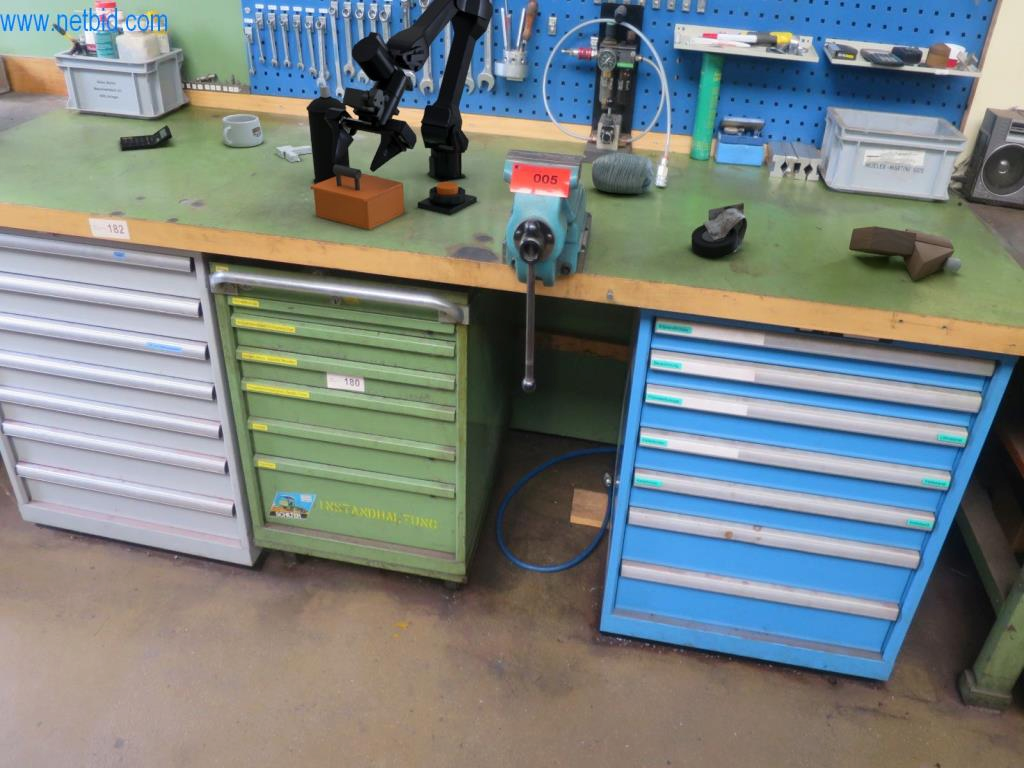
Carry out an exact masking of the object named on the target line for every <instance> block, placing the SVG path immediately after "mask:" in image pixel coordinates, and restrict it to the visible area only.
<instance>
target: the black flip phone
mask: <svg viewBox="0 0 1024 768" xmlns="http://www.w3.org/2000/svg"><path fill="white" fill-rule="evenodd" d="M172 138H173V135H172V132H171V129H170V127H169V125H167V124H166V125H164V126H162V128H160V129H158V130H157V131H156V132H154V133H153V134H145V135H134V136H133V135H132V136H121V137H120V136H119V140H120V146H121V150H122V151H123V152H124V151H125V152H126V151H137V150H148V149H149V150H150V149H157V148H159V147H160V146H161V145H163V144H165V143H166V142H168V141H169V140H171V139H172Z"/></svg>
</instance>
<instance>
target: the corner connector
mask: <svg viewBox="0 0 1024 768" xmlns="http://www.w3.org/2000/svg"><path fill="white" fill-rule="evenodd" d="M275 154H276V155H277V156H278V157H279V158H281V159H286V160H287V161H289V162H290V163H295V162H300V161H301V159H300V158H299V156H300V155H305V154H312V146H311V145H302V146H294V147H293V145H283V146H276V147H275Z"/></svg>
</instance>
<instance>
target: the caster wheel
mask: <svg viewBox="0 0 1024 768" xmlns="http://www.w3.org/2000/svg"><path fill="white" fill-rule="evenodd" d="M744 211H745V203H744V202H739V203H735V204H730V205H725V206H720V207H716V208H711V209H709V210H708V220H707V221H705V222H703V224H702V225H700V226H698V227H697V228H695V229H694V230H693V231H692V232H691V250H692V251H693V253H694V254H696V255H697V256H699V257H702V258H705V259H721V258H724V257H728V256H730V255H731V254H733V253H736V252H737V251H739V249H740V248H741V247H742V244H743V241H744V239H745V235H746V232H747V228H748V220H747V218H746V216H745V215H744V214H745V212H744Z"/></svg>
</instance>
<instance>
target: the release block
mask: <svg viewBox="0 0 1024 768" xmlns="http://www.w3.org/2000/svg"><path fill="white" fill-rule="evenodd" d="M477 201H478V197H477V196H476V195H472V194H467V193H466V189H465V188H464V187H462V186H458V193H457V194H454V195H442V194H438V193H437V185H436V186H433V187H431V188H430V189H429V191H428V197H426V198H424V199H422V200H420V201H417V208H418V209H421V210H425V211H430V212H434V213H438V214H443V215H447V216H452V215H454V214H457V213H458V212H460V211H462V210H464V209H466V208H468V207H470V206H472V205H474V204H476V203H477Z"/></svg>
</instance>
